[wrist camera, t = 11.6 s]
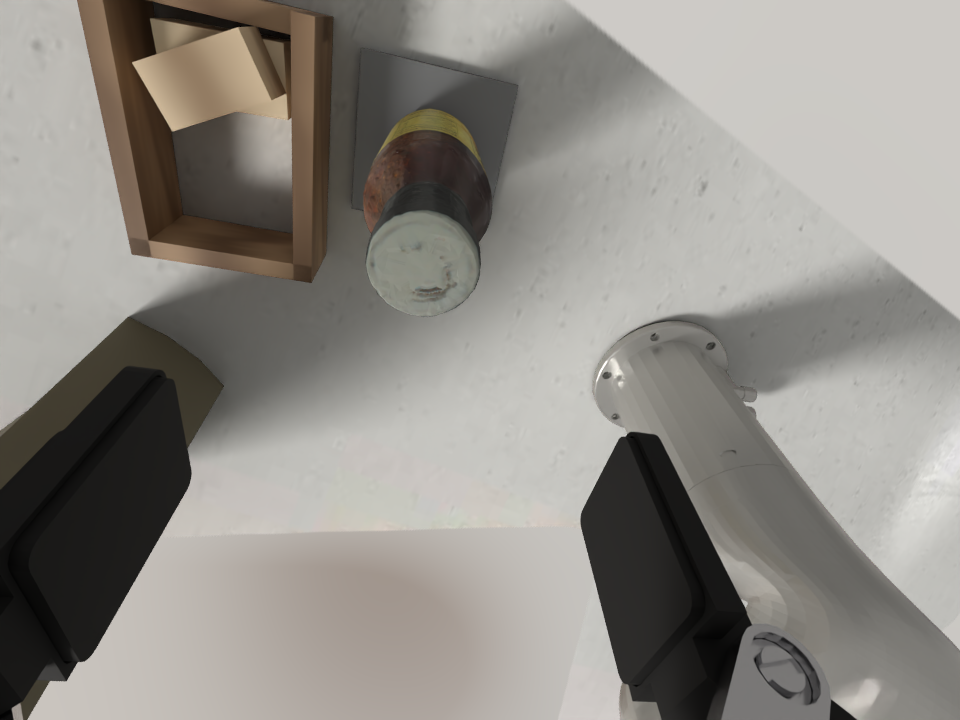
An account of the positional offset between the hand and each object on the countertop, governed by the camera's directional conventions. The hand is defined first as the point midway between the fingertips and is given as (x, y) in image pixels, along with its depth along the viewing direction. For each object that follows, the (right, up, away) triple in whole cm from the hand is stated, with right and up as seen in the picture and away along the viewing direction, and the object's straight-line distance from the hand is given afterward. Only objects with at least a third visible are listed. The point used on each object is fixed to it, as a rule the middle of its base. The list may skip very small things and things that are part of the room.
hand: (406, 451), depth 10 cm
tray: (-14, +17, +22) cm, 31 cm away
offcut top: (-13, +19, +18) cm, 29 cm away
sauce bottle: (-2, +16, +23) cm, 28 cm away
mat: (-2, +17, +23) cm, 28 cm away
